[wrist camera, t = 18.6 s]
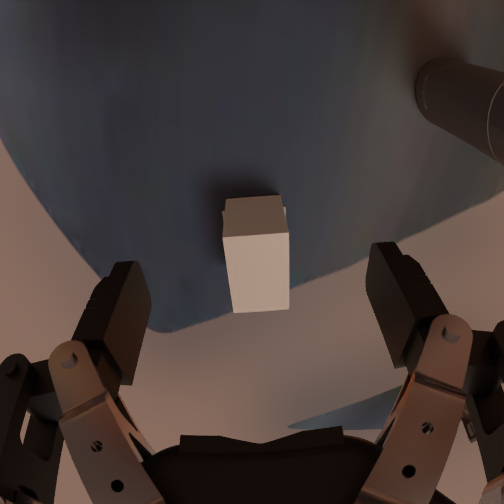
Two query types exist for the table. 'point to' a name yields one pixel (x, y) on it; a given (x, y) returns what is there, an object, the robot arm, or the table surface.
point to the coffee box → (468, 424)
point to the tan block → (257, 253)
